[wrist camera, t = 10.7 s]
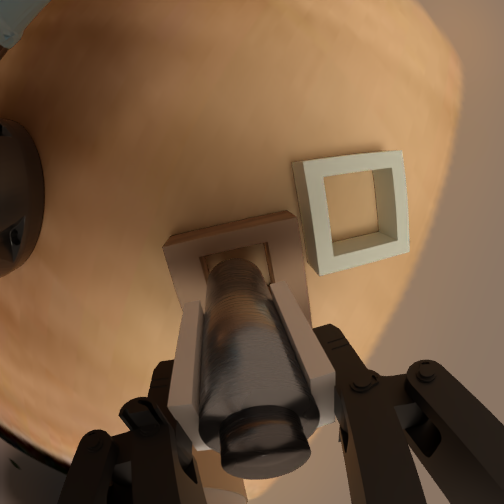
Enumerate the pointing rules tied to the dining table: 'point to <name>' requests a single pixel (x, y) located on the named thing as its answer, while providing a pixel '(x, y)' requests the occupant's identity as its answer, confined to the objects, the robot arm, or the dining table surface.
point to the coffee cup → (218, 480)
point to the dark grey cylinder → (251, 379)
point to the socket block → (232, 237)
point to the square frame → (388, 210)
